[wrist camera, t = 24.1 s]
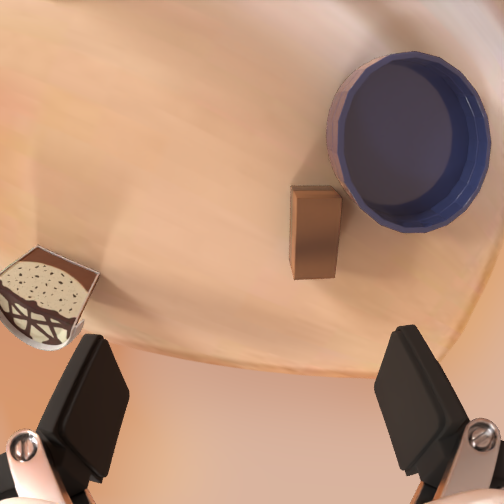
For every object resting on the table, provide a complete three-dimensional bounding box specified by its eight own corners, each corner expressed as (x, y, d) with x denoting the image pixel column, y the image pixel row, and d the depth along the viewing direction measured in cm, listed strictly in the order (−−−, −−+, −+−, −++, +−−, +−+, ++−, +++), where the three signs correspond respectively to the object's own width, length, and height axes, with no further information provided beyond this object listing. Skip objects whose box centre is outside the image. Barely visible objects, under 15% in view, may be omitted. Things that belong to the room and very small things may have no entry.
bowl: (325, 45, 23) (336, 37, 20) (471, 74, 23) (493, 75, 20) (322, 218, 31) (332, 234, 28) (457, 219, 31) (476, 232, 28)
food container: (27, 279, 34) (-12, 324, 25) (28, 240, 31) (-19, 282, 23) (104, 314, 36) (75, 370, 27) (111, 277, 34) (76, 333, 25)
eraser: (290, 185, 30) (296, 198, 26) (331, 185, 30) (342, 198, 26) (288, 260, 33) (293, 280, 30) (325, 258, 33) (334, 278, 30)
